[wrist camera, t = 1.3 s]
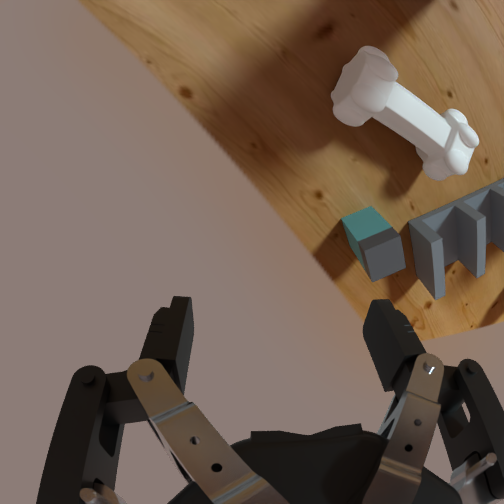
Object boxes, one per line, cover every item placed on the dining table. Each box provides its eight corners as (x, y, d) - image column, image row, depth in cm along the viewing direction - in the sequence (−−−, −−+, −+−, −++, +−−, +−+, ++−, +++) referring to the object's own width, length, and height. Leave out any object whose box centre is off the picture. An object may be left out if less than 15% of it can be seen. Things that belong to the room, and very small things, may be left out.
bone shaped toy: (446, 119, 29) (490, 123, 21) (422, 177, 32) (463, 194, 24) (347, 50, 26) (381, 32, 18) (317, 115, 29) (345, 113, 21)
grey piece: (520, 170, 30) (545, 183, 25) (520, 219, 34) (543, 236, 29) (407, 221, 35) (431, 243, 29) (416, 275, 39) (435, 300, 33)
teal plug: (371, 206, 34) (400, 235, 27) (378, 234, 35) (405, 267, 28) (341, 218, 34) (364, 251, 27) (349, 245, 36) (372, 282, 29)
